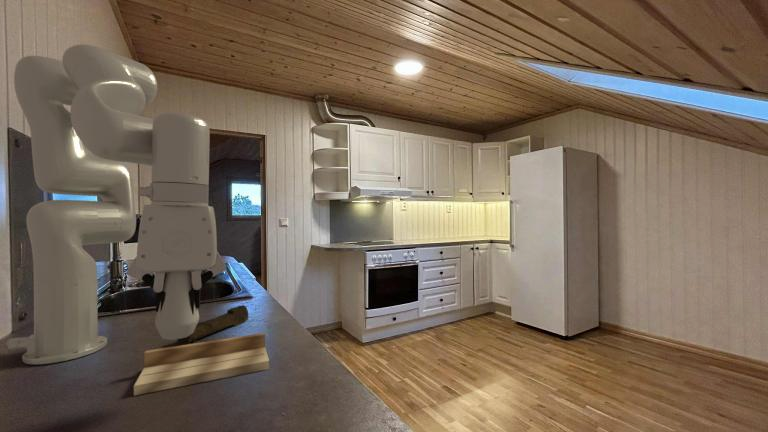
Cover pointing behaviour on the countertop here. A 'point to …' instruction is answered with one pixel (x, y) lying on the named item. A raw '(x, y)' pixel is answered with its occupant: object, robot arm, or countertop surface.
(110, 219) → the robot arm
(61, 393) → the countertop surface
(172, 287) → the salt shaker
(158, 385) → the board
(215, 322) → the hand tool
